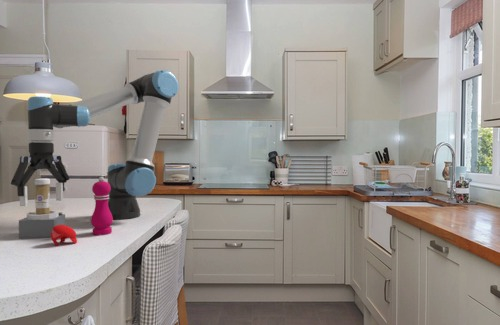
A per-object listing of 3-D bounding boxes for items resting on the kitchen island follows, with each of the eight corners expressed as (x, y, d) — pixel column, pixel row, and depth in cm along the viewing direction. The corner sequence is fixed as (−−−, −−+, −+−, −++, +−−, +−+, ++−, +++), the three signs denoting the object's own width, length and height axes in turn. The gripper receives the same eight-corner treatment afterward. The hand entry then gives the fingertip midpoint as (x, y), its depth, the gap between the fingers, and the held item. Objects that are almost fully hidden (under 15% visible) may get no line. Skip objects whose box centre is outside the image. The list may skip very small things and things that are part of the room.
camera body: (65, 230, 131) (65, 209, 131) (54, 237, 121) (53, 214, 121) (33, 231, 130) (32, 210, 129) (19, 238, 120) (18, 215, 119)
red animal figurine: (44, 237, 108) (61, 226, 108) (49, 226, 114) (65, 216, 114) (62, 254, 112) (79, 244, 112) (66, 243, 117) (82, 233, 117)
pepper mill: (117, 231, 129) (116, 176, 128) (103, 236, 122) (102, 177, 122) (101, 230, 131) (100, 175, 131) (86, 234, 125) (85, 177, 124)
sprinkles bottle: (34, 218, 122) (33, 179, 122) (37, 216, 127) (36, 178, 126) (49, 217, 124) (48, 179, 123) (51, 215, 128) (51, 178, 128)
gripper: (12, 141, 111) (14, 209, 112) (78, 142, 134) (79, 199, 135) (-4, 141, 114) (-2, 207, 115) (64, 142, 137) (65, 198, 138)
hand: (42, 203), depth 125 cm, fingers open, 13 cm apart
